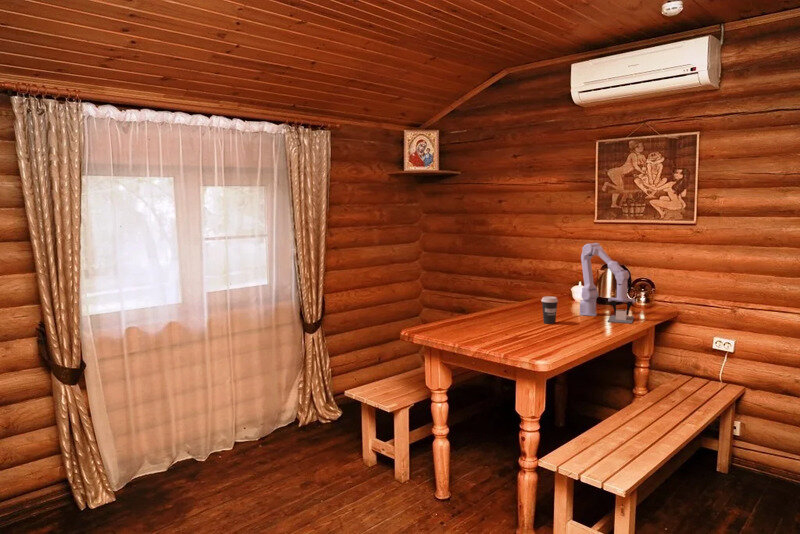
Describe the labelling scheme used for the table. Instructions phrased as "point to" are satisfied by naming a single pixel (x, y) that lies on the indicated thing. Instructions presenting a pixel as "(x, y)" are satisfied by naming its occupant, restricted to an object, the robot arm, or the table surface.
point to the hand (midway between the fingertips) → (621, 314)
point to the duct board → (628, 320)
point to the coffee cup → (549, 309)
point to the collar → (621, 314)
